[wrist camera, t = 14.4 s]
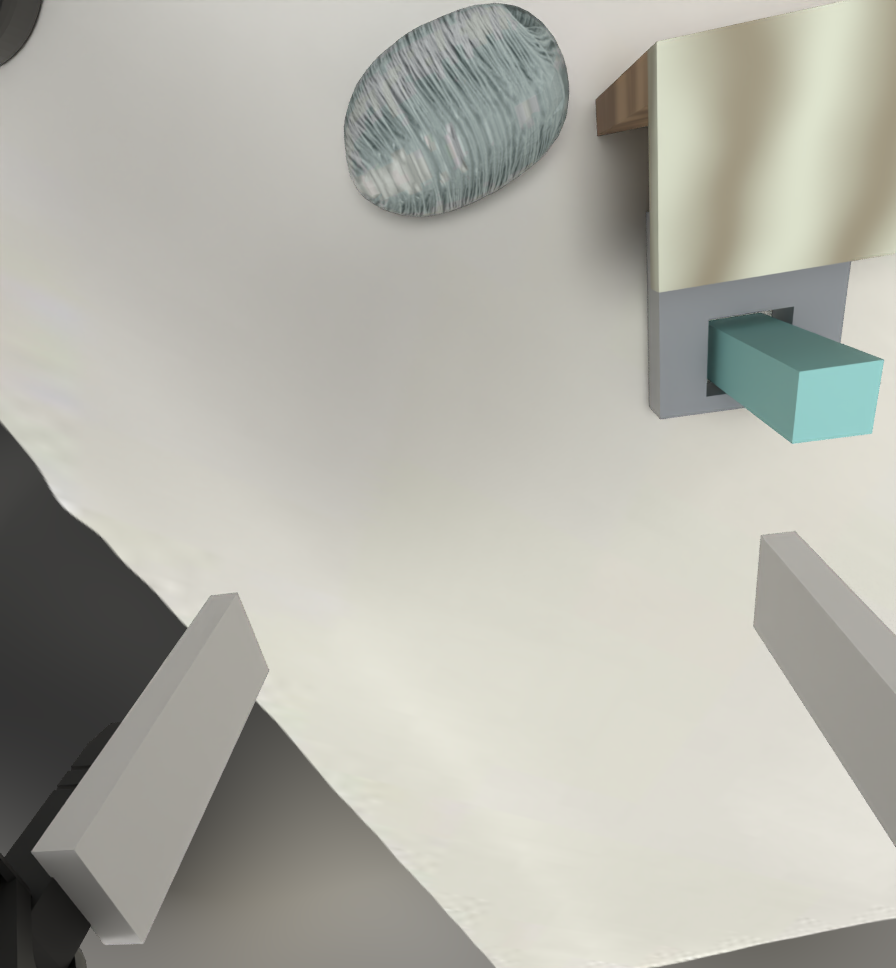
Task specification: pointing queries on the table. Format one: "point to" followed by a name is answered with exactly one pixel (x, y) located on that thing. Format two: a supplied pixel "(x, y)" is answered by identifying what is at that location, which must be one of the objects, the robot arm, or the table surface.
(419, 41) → the grey yarn spool
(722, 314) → the socket
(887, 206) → the wood grain block
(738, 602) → the table surface
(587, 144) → the table surface
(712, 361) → the peg
